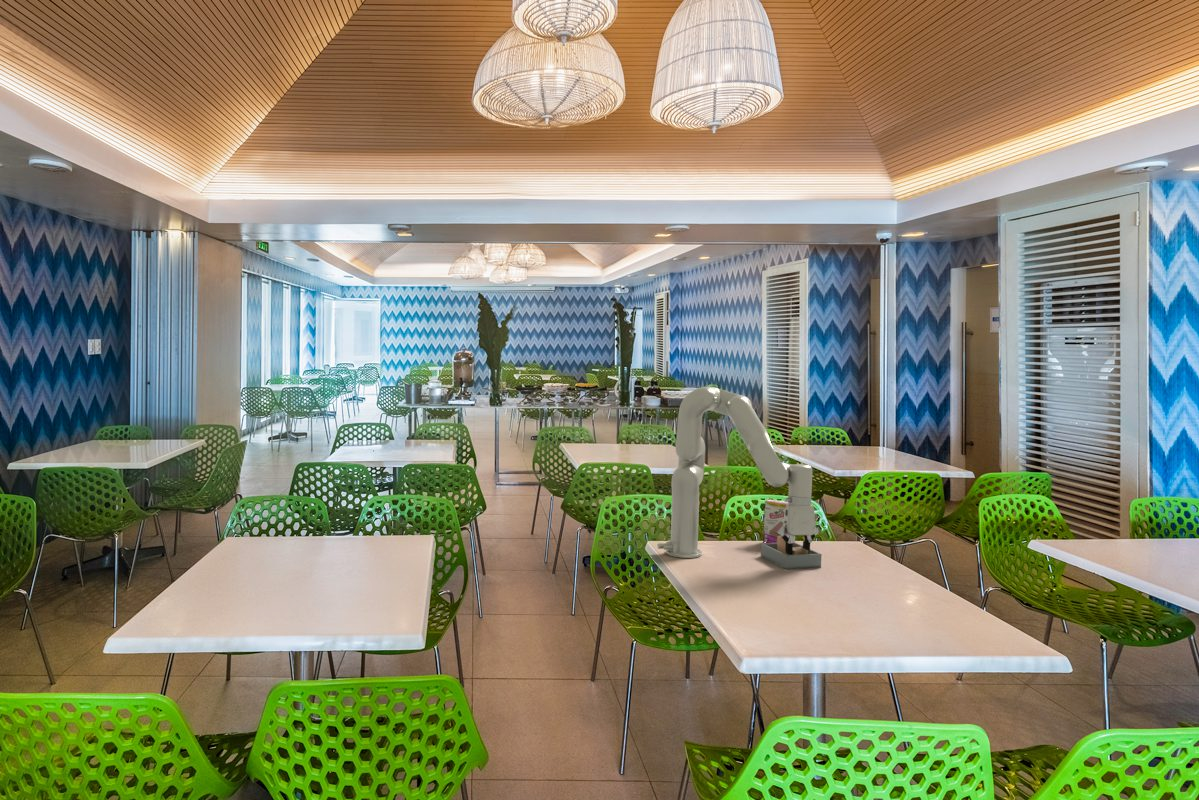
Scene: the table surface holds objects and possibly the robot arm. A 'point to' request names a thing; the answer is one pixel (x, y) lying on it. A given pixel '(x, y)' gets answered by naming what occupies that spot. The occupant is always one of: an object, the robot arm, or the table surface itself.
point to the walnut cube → (799, 551)
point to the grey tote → (790, 557)
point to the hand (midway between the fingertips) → (797, 553)
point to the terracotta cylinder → (781, 544)
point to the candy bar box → (773, 520)
